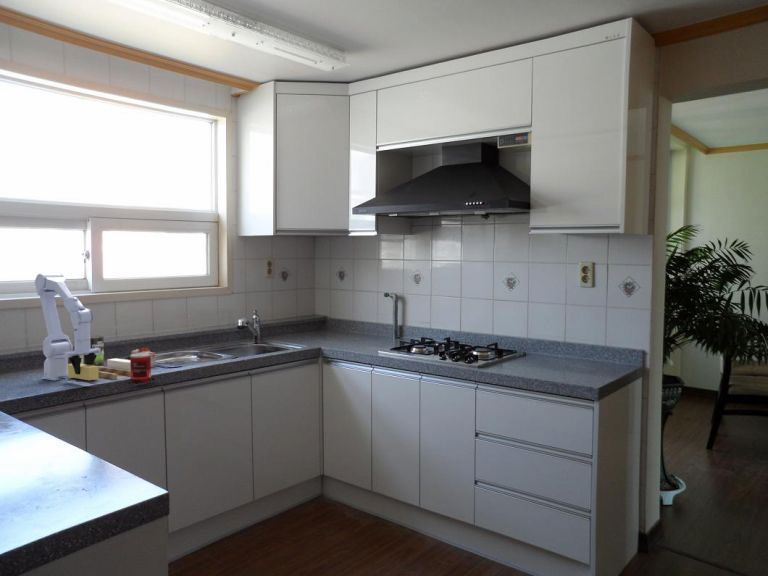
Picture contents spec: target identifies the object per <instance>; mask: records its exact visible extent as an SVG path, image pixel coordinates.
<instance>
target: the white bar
mask: <svg viewBox="0 0 768 576" xmlns="http://www.w3.org/2000/svg"><path fill="white" fill-rule="evenodd" d="M106 361H107V366H106V367H109V368H116V369H122V370H129V371H131V367H130V359H123V358H110V359H109V358H108V359H107V360H106Z"/></svg>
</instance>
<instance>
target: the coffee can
mask: <svg viewBox="0 0 768 576" xmlns="http://www.w3.org/2000/svg"><path fill="white" fill-rule="evenodd" d="M104 338H105V336H104V335H90V349H93V348H101V353H95V354H96V355H97V357H96V358H95V360H94V362H93V366H104V365H105V351H104V350H105V348H104V347H105V346H104V343H105V342H104ZM84 354H85V353H84ZM79 358H82V359H81V364H85V358H84V355H81V356H79Z"/></svg>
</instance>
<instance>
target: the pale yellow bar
mask: <svg viewBox="0 0 768 576" xmlns="http://www.w3.org/2000/svg"><path fill="white" fill-rule="evenodd" d="M67 377H68V378H74V379H80V380H85V381H92V380H93V381H94V380H98V379H99V378H100V377H99V373H98V366H93V365H87V364H80V374H75V370H74V367H73V365H72V363H68V375H67Z"/></svg>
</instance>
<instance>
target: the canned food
mask: <svg viewBox="0 0 768 576" xmlns="http://www.w3.org/2000/svg"><path fill="white" fill-rule="evenodd" d="M129 357H130V359H129V360H130V367H131V376H130V379H131V380H137V381H132V384H133V383H134V384H143V383H144V384H145V383H149V382H150V381H151V379H152V371H151V370H152V367H151V357H150V354H149V353H136V354H132V355H131V354H130V356H129Z"/></svg>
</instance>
